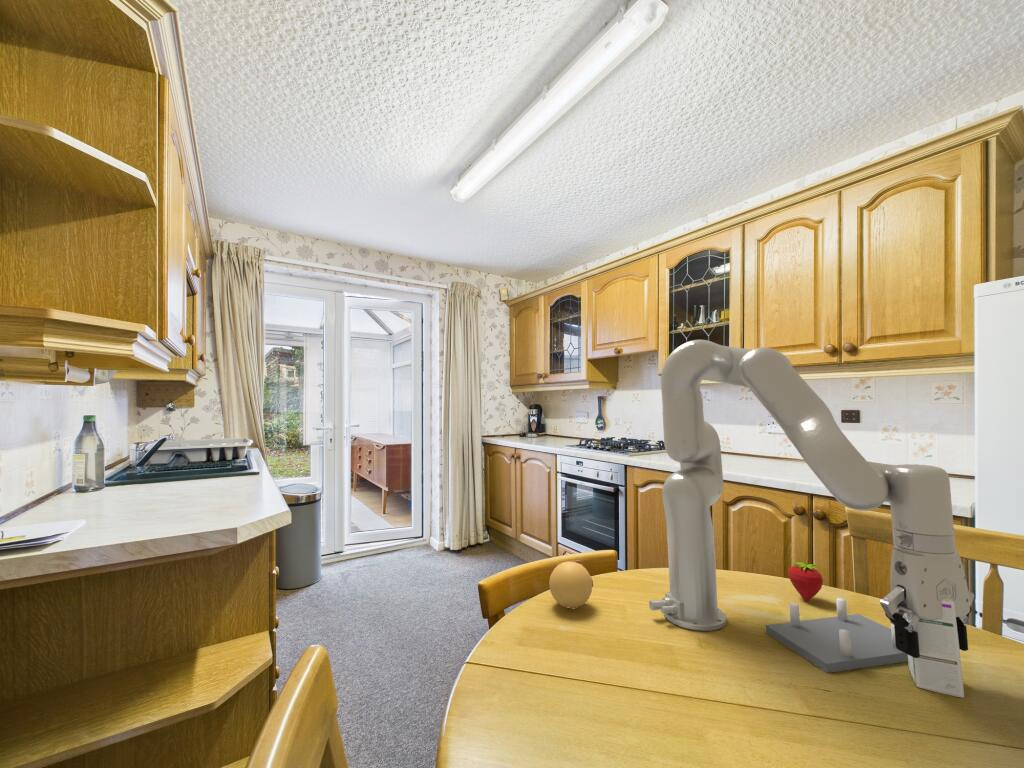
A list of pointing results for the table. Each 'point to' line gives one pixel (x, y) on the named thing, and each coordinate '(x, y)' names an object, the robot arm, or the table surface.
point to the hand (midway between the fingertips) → (931, 649)
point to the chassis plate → (838, 640)
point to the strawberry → (805, 579)
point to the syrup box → (938, 653)
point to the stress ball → (570, 584)
